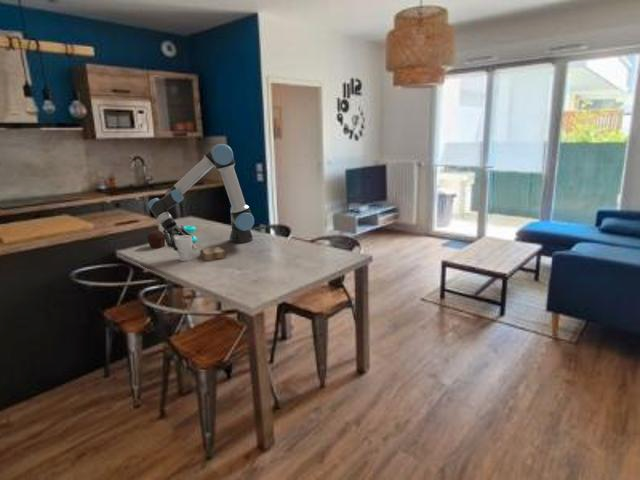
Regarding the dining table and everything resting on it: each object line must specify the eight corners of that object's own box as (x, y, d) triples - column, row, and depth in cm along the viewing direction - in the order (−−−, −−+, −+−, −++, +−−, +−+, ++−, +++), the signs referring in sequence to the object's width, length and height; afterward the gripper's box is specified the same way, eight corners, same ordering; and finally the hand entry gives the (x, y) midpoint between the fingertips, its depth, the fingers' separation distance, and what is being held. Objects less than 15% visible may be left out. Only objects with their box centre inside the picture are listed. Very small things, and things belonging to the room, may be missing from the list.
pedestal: (220, 252, 247) (220, 246, 246) (226, 257, 237) (225, 251, 236) (200, 255, 242) (199, 249, 241) (205, 261, 231) (204, 254, 230)
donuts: (177, 226, 271) (192, 224, 277) (179, 241, 274) (194, 238, 279) (182, 229, 263) (197, 227, 269) (184, 244, 266) (199, 242, 271)
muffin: (154, 250, 255) (152, 234, 252) (144, 247, 261) (142, 232, 258) (170, 245, 264) (169, 230, 261) (161, 243, 270) (159, 228, 268)
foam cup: (188, 262, 230) (186, 239, 227) (173, 261, 232) (171, 239, 229) (197, 257, 239) (194, 235, 236) (182, 256, 241) (180, 234, 238)
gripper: (179, 221, 248) (200, 250, 244) (148, 229, 230) (169, 260, 226) (184, 214, 244) (206, 243, 240) (152, 221, 226) (175, 253, 222)
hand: (188, 251), depth 233 cm, fingers closed on foam cup, 9 cm apart
